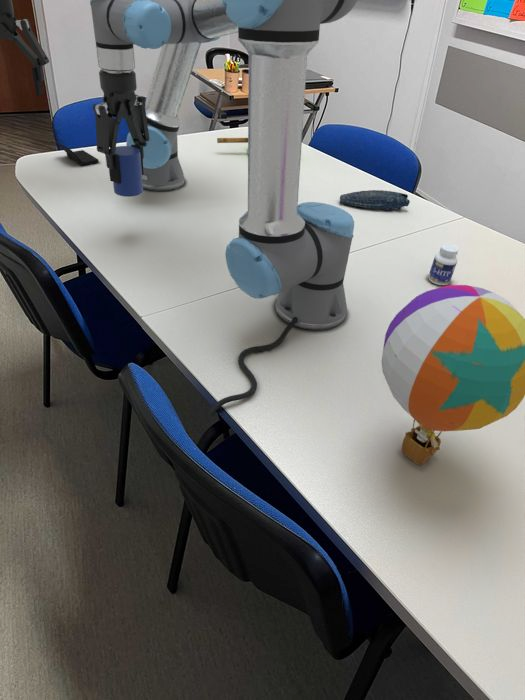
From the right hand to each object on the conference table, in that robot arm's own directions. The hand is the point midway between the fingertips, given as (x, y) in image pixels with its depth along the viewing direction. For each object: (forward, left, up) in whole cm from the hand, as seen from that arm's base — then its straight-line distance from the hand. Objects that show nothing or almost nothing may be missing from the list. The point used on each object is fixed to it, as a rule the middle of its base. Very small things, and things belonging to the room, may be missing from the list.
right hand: (127, 177), depth 123 cm
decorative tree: (+75, -21, -16) cm, 79 cm away
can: (0, 0, -3) cm, 3 cm away
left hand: (+18, +36, +11) cm, 42 cm away
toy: (-58, -68, -16) cm, 91 cm away
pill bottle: (0, -78, -16) cm, 79 cm away
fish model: (+41, -62, -16) cm, 76 cm away
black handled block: (+47, +35, -16) cm, 60 cm away
